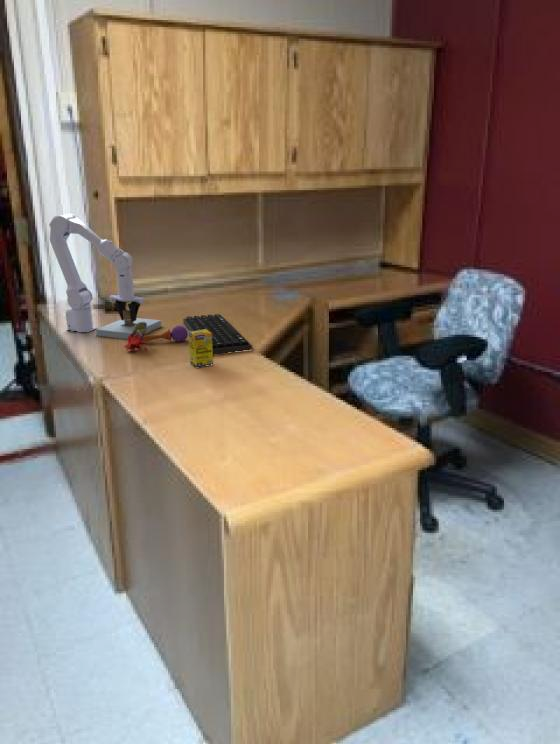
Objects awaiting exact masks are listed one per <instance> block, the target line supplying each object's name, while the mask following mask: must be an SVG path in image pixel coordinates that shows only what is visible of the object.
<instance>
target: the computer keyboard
mask: <svg viewBox="0 0 560 744" xmlns="http://www.w3.org/2000/svg"><path fill="white" fill-rule="evenodd" d="M182 320H183V321H182V322H183V325H184V328H186V330H187V332H189V331H197V330H204V329H206V330H208V331H209V332H211V333H212V349H213V356H215V355H214V354H220V355H223V354H222V353H228V352H235V351H243V350H250V349H252V350H253V344H251V343H250V342H249V341H248V340H247V339H246V338H245V337H244V336H243V335H242V334H241V333H240V332H239V330H237V329H236V328H235V327H233V325H232V324H231V323H230V322H229V321H227V319H226V318H224V316H222V315H221V314H220V313H214V315H213V314H207V315H206V314H205V315H201V314H200V315H194V316H188V315H187V316H186V318H183V319H182Z"/></svg>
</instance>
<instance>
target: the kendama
mask: <svg viewBox="0 0 560 744" xmlns="http://www.w3.org/2000/svg"><path fill="white" fill-rule="evenodd" d="M188 337H189V331H188V329H187V328H186V327H185V326H183V325H177V326H175V327H173V328H172V330H170V329H168V330H166V331H165V332H163V333H162V334H144V338H143V341H145V342H146V343H147V342H150V341H153V340H159V339H164V340H168V341H171V342H172V340H173V341H174V342H176V343H183V342H184V341H186V340H187V338H188Z"/></svg>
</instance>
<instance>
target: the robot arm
mask: <svg viewBox="0 0 560 744" xmlns="http://www.w3.org/2000/svg"><path fill="white" fill-rule="evenodd" d="M48 225H49V228H50V229H49V230H50V232H49V241H50V244H51V247H52V251H53V252H54V255H55V257H56V259H57V262H58V265H59V267H60V271H61V272H62V276H63V277H64V281H65V283H66V285H67V287H66V290H65V293H66V296H67V298H66V299H67V303H68V306H69V307H67V309H66V312H65V321H66V327H67V329H65V331H66V330H71V331H70V332H73V331H77V332H76V333H81V332H87V333H89V332H92V331H94V330H96V329H98V328H99V327H98V326H94V323H93V322H94V321H93V313H92V305H91V302H92V301H93V293H92V291H90V290H89V288H88V287H87V285H86V284H85V283H84V282H83V280H81V277H80V274H79V272H78V269H77V267H76V266H77V265H76V264H75V262H74V259H73V255H72V253H71V250H70V248H69V246H68V243H67V241H68V239H69V237H70V235H71V234H76V235H79V236H81V237H82V238H84V239H85V240H87V241H88V242H90V243H91V244H92V245H94V247H96V248H97V249H96V250H97V252H98V253H99V254H100V255H102V256H103V257H104V258H106V259H107V261H109V262H111V263H112V265H113V268H114V269H116V282H117V290H118V291H117V292H118V295H116V294H111V295H109V301H110V302H114V303H113V306H114V308H115V309H116V310H117V312H118V314H119V316H120V320H123V312H122V310H124V309H127V307H128V309H130V313H131V320H132V321H136V318H138V313H139V309H140V306H141V304H144V303H145V297H141V296H135V291H134V289H135V288H134V279H133V270H132V265H133V263H134V259H133V258H134V257H133V256H132V255H131V254H130V253H129V252H126V251H124V250H123V249H120V247H117V246H116V245H115V244H114V241H113V240H109V239H102V238H101V237H100V236H98V235H97V234H96V233H95V232H94V230H92V229H91V228H89V227H88V226H87V225H86V224H85V223H84V222H83V221H82V220H81V219H80V218H78V217H77V216H76V215H74V214H73V213H65V214H61V215H55V216H53V217H52V219H51V221H50V222H49V224H48ZM127 303H128V304H127Z"/></svg>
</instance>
